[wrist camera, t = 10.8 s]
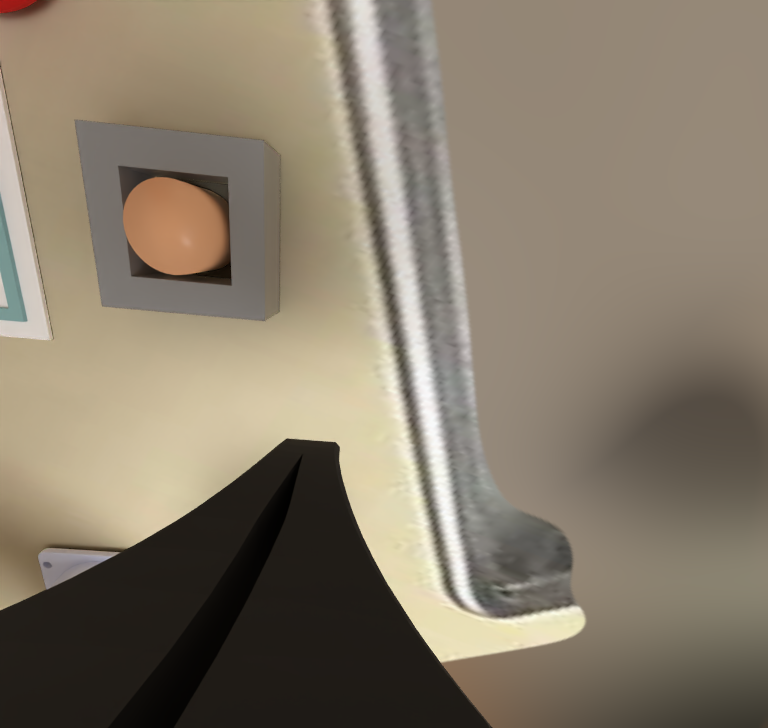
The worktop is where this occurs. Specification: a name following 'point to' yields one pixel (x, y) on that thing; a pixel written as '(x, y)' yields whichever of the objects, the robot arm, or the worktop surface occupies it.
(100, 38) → the worktop surface
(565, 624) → the worktop surface
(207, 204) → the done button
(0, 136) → the sheet
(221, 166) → the grey egg holder
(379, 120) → the worktop surface
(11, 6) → the beverage can
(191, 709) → the robot arm
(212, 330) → the worktop surface
